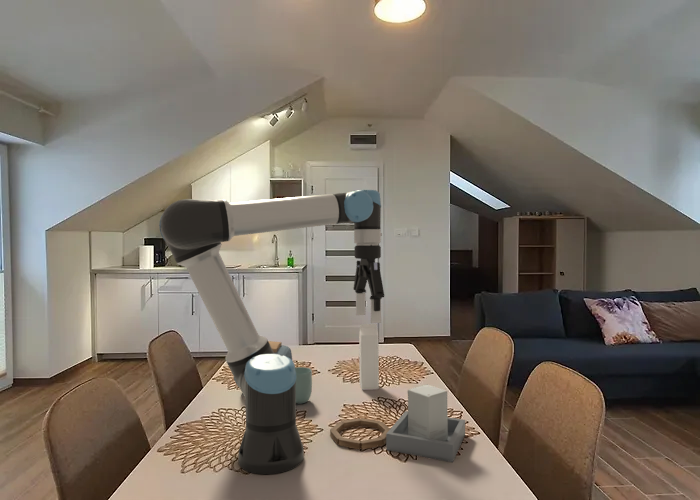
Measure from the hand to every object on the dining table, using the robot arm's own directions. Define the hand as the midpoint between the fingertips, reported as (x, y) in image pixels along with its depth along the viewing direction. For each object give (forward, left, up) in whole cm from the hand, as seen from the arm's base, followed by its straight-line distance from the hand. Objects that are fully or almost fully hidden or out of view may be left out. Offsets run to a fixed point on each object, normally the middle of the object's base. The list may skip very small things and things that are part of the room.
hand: (367, 318), depth 133 cm
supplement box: (-9, -20, -28) cm, 35 cm away
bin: (-9, -20, -29) cm, 36 cm away
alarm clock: (+12, +42, -29) cm, 52 cm away
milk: (+26, +10, -29) cm, 40 cm away
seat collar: (-12, -2, -29) cm, 31 cm away
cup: (+4, +25, -29) cm, 38 cm away
